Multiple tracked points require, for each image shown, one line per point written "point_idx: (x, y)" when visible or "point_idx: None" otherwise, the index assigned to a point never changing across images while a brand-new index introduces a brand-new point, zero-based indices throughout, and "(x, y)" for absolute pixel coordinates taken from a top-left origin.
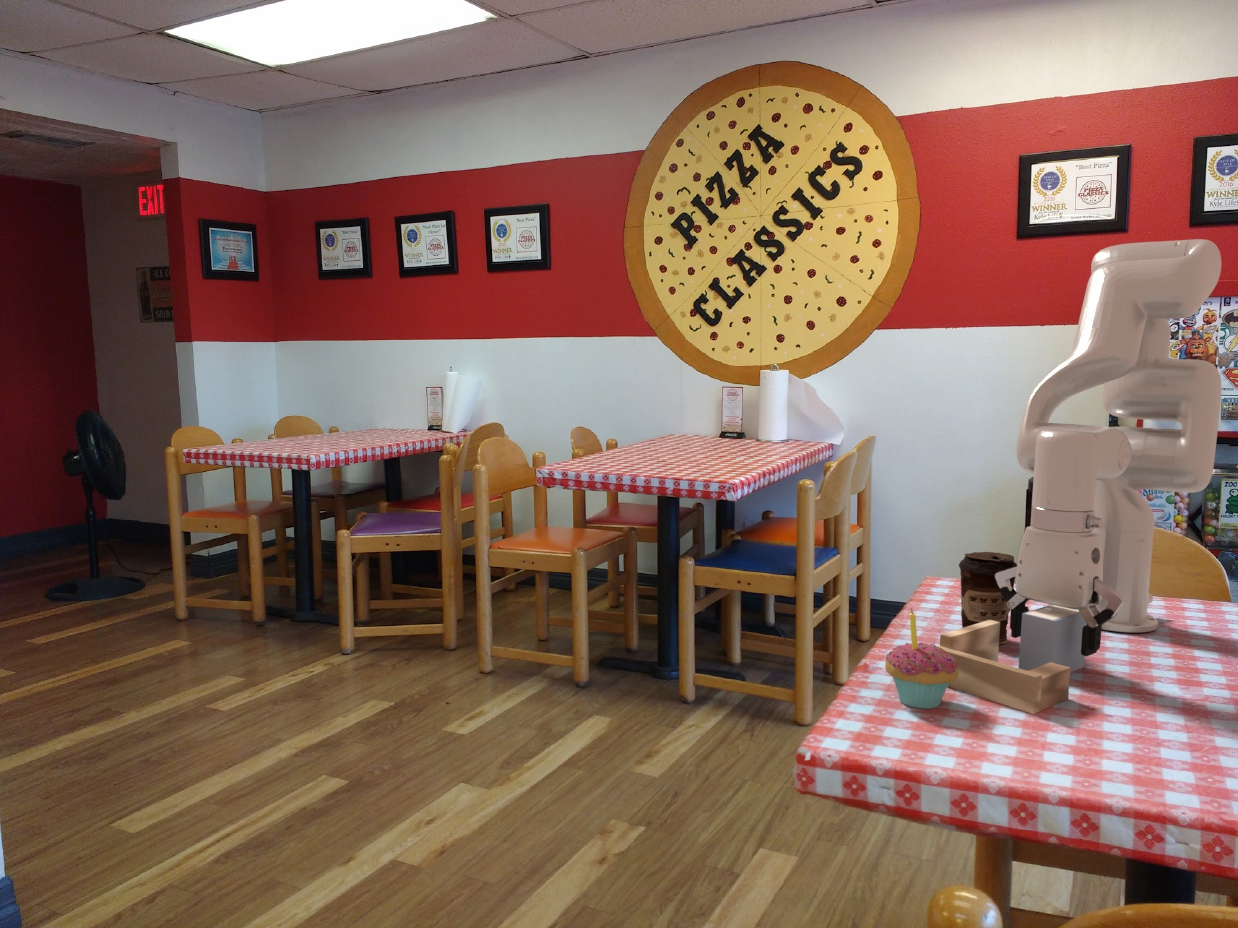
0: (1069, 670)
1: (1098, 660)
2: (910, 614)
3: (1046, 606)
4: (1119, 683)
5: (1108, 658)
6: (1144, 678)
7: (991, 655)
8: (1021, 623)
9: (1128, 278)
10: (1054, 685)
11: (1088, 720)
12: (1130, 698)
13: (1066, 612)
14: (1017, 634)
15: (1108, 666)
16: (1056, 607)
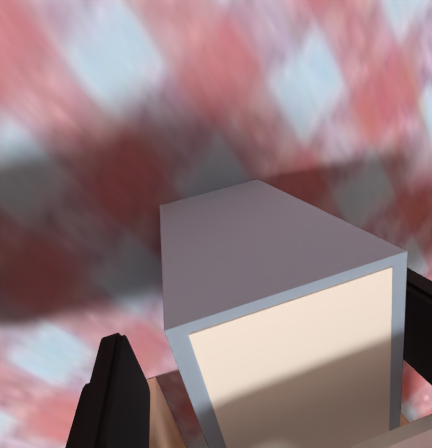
0: (407, 422)
1: (235, 70)
2: None
3: (208, 435)
4: (374, 203)
5: (234, 4)
6: (394, 98)
7: (165, 426)
8: (138, 416)
9: None
10: None
11: (420, 391)
12: (425, 259)
13: (357, 409)
14: (146, 392)
15: (288, 99)
16: (258, 400)
